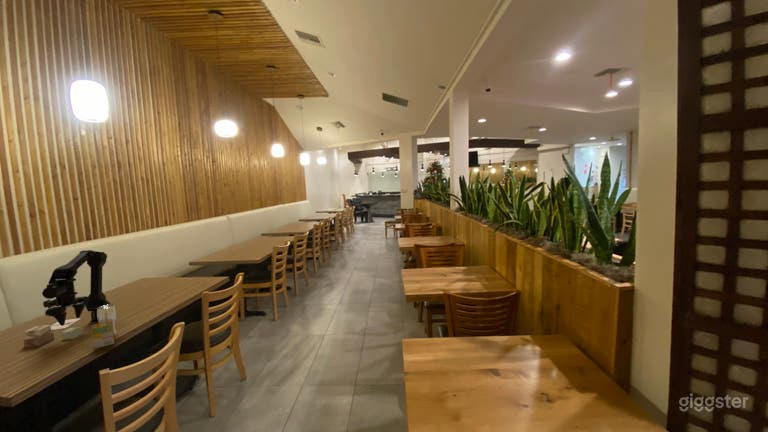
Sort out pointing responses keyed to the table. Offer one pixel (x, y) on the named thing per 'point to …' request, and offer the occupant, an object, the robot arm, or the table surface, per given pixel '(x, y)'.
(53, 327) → the page
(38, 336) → the maple brick
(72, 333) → the sage brick
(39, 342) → the walnut base brick
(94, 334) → the crayon box
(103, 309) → the beer glass
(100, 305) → the robot arm
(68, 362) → the table surface
